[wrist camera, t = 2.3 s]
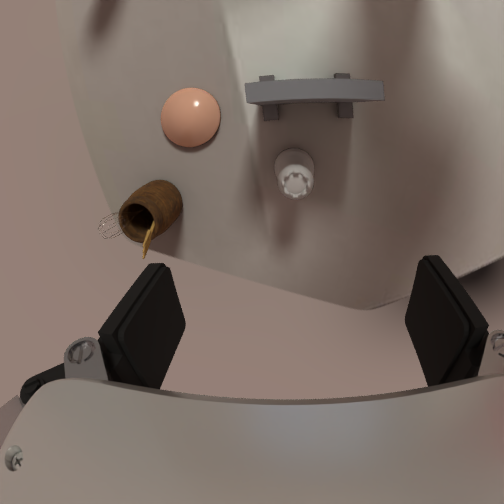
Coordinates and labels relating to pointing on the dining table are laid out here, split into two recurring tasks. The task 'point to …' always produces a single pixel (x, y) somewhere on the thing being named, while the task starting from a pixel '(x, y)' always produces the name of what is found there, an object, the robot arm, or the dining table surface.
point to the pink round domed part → (190, 117)
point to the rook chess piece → (294, 173)
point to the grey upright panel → (312, 93)
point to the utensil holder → (149, 212)
